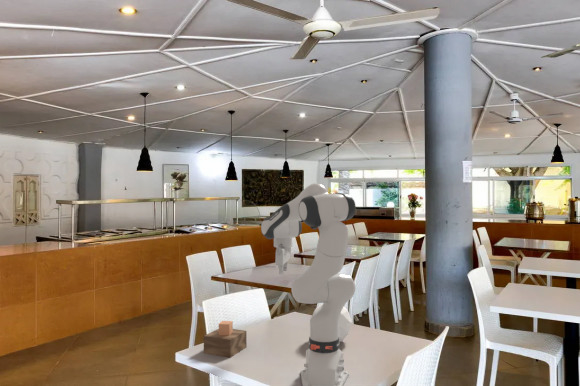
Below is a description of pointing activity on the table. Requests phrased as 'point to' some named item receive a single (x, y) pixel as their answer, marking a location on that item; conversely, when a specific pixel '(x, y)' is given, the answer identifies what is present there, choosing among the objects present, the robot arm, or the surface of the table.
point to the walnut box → (225, 343)
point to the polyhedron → (341, 322)
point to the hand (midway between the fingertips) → (283, 272)
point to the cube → (225, 327)
